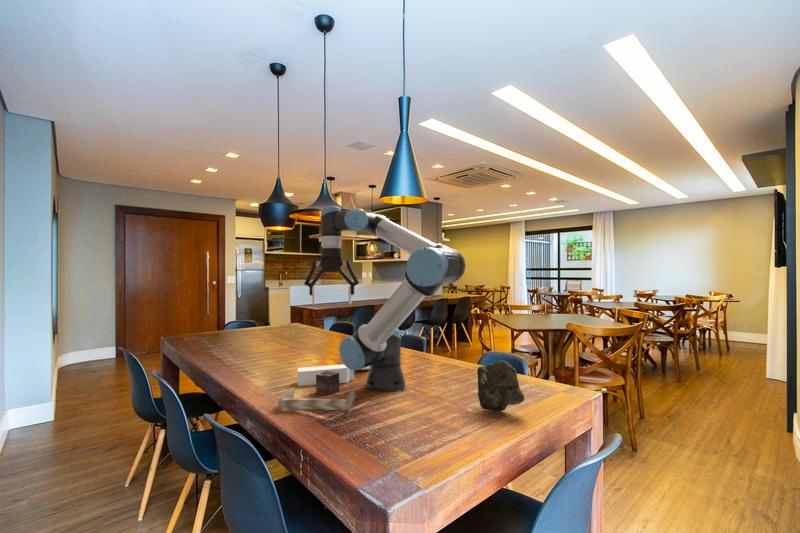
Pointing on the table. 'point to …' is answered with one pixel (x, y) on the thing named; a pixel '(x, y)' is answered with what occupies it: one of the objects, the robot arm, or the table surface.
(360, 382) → the table surface
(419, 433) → the table surface
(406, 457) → the table surface
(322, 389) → the box
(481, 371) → the stone
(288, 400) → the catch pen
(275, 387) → the table surface
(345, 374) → the milk
